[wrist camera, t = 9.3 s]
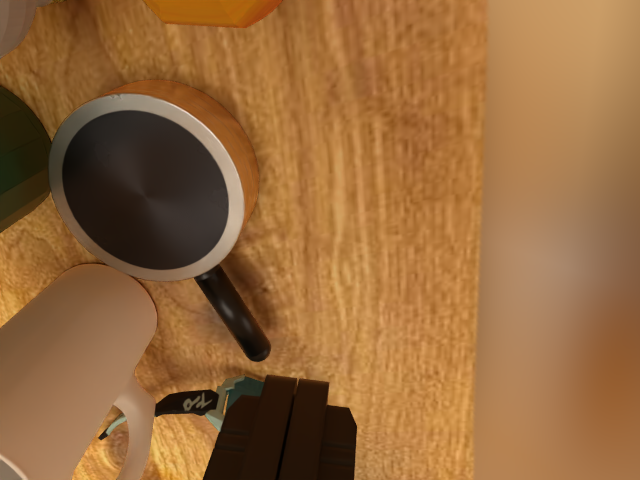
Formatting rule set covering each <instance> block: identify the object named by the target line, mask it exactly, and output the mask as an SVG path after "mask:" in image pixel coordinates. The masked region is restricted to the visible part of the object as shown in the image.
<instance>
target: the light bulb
mask: <svg viewBox="0 0 640 480" xmlns="http://www.w3.org/2000/svg"><path fill="white" fill-rule="evenodd" d="M64 1H66V0H0V59H1V58H2V57H4V56H5V55H6V54H8V53H9V52H11V51H12V50H14V49H15V48H16V47H17V46H18V45H19V44H20V43H21V42H22V41H23V39H24V38H25V36H26V35H27V33H28V31H29V29H30V26H31V24H32V22H33V19H34V16H35V13H36V9H37V7H43V6H46V5H48V4H49V3H58V2H64Z"/></svg>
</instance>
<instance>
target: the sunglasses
mask: <svg viewBox="0 0 640 480" xmlns="http://www.w3.org/2000/svg"><path fill="white" fill-rule="evenodd" d="M244 375H245V374H244ZM244 375H240V376H236V377H232V378H228V379H226V380H225V381H224V383H223V384H222V386H218V387H217V390H216V392H214V391H212V390H198V391H186V392H179V393H174V394H169V395H168V396H166V397H165V398H164V399H162V400H161V401H160V402H158V403H157V404H156V406H155V414H154V417H158V416H160V415H162V414H189V413H194V414H197V415H200V416H202V415H205V416H206V417H207V419H208V420H209V421H210V422H211V423H212V424H213V425H214V427H215V428H216V429H217V430H218V431H220V429H221V426H222V423H223V420H224V417H225V416H224V415H223V410H224V405H225V400H226V397H227V395H228V394H229V395H228V401H227V407H226V412H227V409H228V408H229V407H230V406H231V405H232V404H233V403H234V402H235V401H236V400H237V399H238V398H239V397H240V396H241V395H242V394H244V395H251V396H259V397H260V396H261V392H262V389H263V385H264V382H262V381H259V380H255V379H252V378H249V377H246V376H245V377H244ZM226 412H225V415H226ZM124 421H127V419H126V417H125V415H124V413H122V414H120V415H119V416H118V417H117V418H116V419H115V420H114V422H113V423H112V424H111V425H110V426H109V427H108V428H107V429H106V430H105V431H104V432H103V433H102V434H101V435H100V436H99V439H100V440H102V439H104V438H105V437H107V436H108V435H109V434H110V433H111V432H112V430H113V429H114V428H115V427H116V426H118V425H119V424H120V423H122V422H124Z"/></svg>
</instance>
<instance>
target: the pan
mask: <svg viewBox="0 0 640 480" xmlns="http://www.w3.org/2000/svg"><path fill="white" fill-rule="evenodd" d="M48 178H49V186H50V190H51V194H52V198H53V200H54V203H55V205H56V208H57V210H58V212H59V214H60V216H61V218H62V220H63V222H64V223H65V225H66V226H67V227H68V229H69V230H70V232H71V233H72V234H73V235H74V237H75V238H76V239H77V240H78V241H79V242H80V243H81V244H82V245H83V246H84V247H85V248H86V249H87V250H88V251H89V252H90V253H91V254H93V255H94V256H95V257H96V258H98V259H99V260H101V261H102V262H104V263H105V264H107V265H108V266H110V267H112V268H114V269H116V270H118V271H120V272H123V273H125V274H128V275H130V276H133V277H137V278H141V279H145V280H151V281H162V282H170V281H180V280H186V279H190V278H193V277H194V279H195V281H196V282H197V284H198V285H199V287H200V288H201V290H202V291H203V293H204V294H205V296H206V297H207V299H208V300H209V302H210V303H211V304H212V306H213V307H214V309H215V310H216V312H217V313H218V315H219V316H220V318H221V319H222V321H223V322H224V324H225V325H226V327H227V328H228V330H229V331H230V333H231V334H232V336H233V337H234V338H235V340H236V341H237V343H238V344H239V346H240V347H241V349H242V350H243V352H244V353H245V355H246V356H247V357H248V358H249V359H250V360H252V361H255V362H260V361H263V360H265V359H266V358H267V357H268V356H269V354H270V351H271V345H270V342H269V340H268V339H267V337H266V335H265V334H264V332H263V331H262V329H261V328H260V326H259V325H258V323H257V322H256V320H255V318H254V317H253V315H252V314H251V312H250V311H249V309H248V308H247V306H246V305H245V303H244V301H243V300H242V298H241V297H240V295H239V294H238V292H237V291H236V289H235V287H234V286H233V284H232V283H231V281H230V280H229V278H228V277H227V275H226V274H225V272H224V270H223V269H222V267H221V266H220V264H219V263H220V262H221V261H222V260H223V259H225V258H226V256H227V255H228V254H229V253H230V251H231V250H232V249H233V247H234V245H235V244H236V242H237V240H238V238H239V236H240V235H241V233H242V231H243V229H244V227H245V226H246V224H247V222H248V220H249V218H250V217H251V215H252V213H253V210H254V208H255V205H256V202H257V197H258V191H259V171H258V166H257V161H256V157H255V154H254V151H253V148H252V146H251V144H250V141H249V139H248V137H247V135H246V134H245V132H244V131H243V129H242V128H241V126H240V124H239V123H238V122H237V121H236V120H235V118H234V117H233V116H232V115H231V114H230V113H229V112H228V111H227V110H226V109H225V108H224V107H223V106H222V105H221V104H219V103H218V102H217V101H215V100H214V99H213V98H211V97H210V96H208V95H206V94H205V93H203V92H201V91H200V90H197V89H195V88H193V87H190V86H188V85H185V84H181V83H178V82H174V81H168V80H152V79H149V80H142V81H136V82H132V83H129V84H126V85H123V86H121V87H119V88H117V89H114V90H112V91H110V92H108V93H105V94H103V95H101V96H98V97H96V98H94V99H92V100H90V101H88V102H85V103H84V104H82V105H81V106H79V107H78V108H76V109H75V110H74V111H73V112H72V113H71V114H70V115H69V116H67V117H66V118H65V120H64V121H63V123H62V124H61V125H60V127H59V128H58V130H57V132H56V134H55V136H54V138H53V141H52V145H51V148H50V152H49V158H48Z"/></svg>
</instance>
